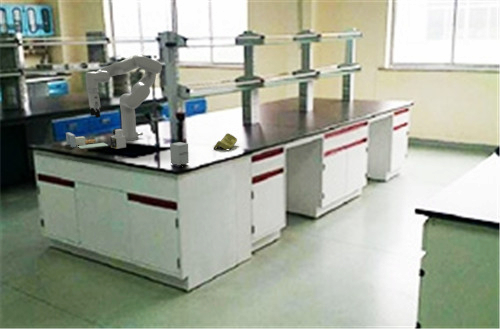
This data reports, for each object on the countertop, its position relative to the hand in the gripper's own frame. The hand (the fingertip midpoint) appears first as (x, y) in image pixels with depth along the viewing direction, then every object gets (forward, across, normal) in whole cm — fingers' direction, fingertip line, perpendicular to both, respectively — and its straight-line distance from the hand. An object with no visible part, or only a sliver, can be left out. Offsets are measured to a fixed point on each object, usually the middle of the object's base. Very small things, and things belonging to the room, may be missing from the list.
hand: (95, 116), depth 361 cm
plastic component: (+20, -60, -65) cm, 91 cm away
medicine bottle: (+18, -22, -6) cm, 29 cm away
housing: (+17, 0, +18) cm, 25 cm away
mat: (+18, -9, +7) cm, 21 cm away
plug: (+18, 0, +9) cm, 20 cm away
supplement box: (+19, -87, -18) cm, 91 cm away
